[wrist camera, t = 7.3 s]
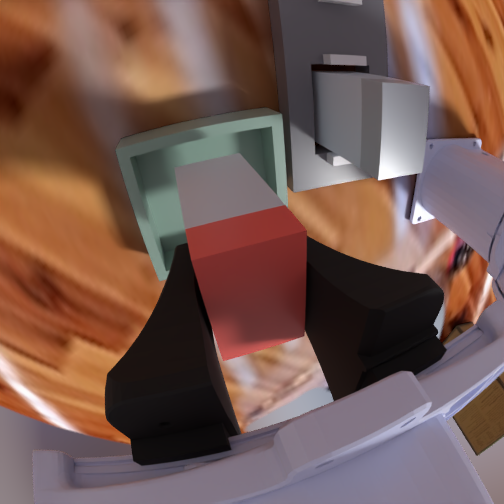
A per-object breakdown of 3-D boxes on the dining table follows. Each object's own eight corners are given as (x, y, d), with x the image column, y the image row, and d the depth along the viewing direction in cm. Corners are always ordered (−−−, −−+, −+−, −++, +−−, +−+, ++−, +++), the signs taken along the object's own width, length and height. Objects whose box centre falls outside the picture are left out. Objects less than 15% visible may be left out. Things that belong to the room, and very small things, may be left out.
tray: (266, 107, 16) (281, 113, 14) (276, 227, 21) (289, 246, 19) (121, 138, 15) (115, 149, 13) (158, 257, 20) (159, 281, 18)
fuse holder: (354, -82, 8) (373, -90, 6) (371, 167, 20) (390, 179, 19) (252, -99, 7) (265, -114, 5) (284, 183, 19) (299, 198, 17)
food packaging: (438, 362, 56) (491, 441, 36) (417, 370, 52) (474, 459, 32) (473, 320, 49) (535, 402, 30) (456, 324, 45) (526, 419, 26)
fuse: (348, 70, 16) (429, 86, 10) (349, 134, 18) (422, 172, 13) (307, 71, 15) (382, 82, 10) (310, 139, 18) (378, 180, 12)
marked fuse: (239, 153, 13) (306, 230, 8) (250, 234, 16) (304, 336, 10) (174, 167, 13) (191, 260, 7) (194, 248, 15) (223, 361, 10)
